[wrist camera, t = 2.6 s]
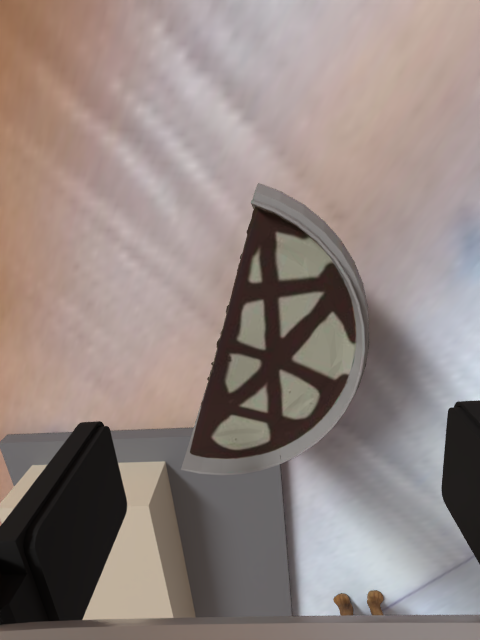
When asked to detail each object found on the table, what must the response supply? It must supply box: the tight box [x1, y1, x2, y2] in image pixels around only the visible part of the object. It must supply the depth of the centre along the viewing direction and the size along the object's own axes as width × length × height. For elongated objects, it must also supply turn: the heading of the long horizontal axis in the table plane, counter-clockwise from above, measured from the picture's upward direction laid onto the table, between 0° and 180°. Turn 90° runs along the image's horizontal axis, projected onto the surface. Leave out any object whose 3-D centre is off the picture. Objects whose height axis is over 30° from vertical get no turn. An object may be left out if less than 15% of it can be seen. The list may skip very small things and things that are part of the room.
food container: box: [181, 183, 369, 475], centre depth 19 cm, size 12×6×10 cm, turn 165°
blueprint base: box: [0, 428, 292, 620], centre depth 29 cm, size 20×20×5 cm
